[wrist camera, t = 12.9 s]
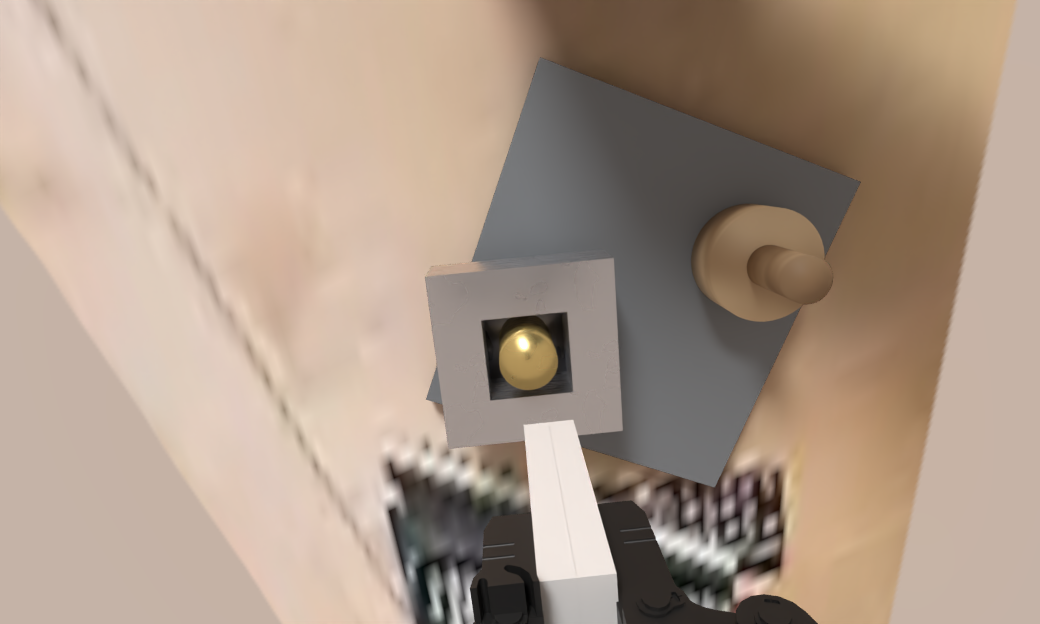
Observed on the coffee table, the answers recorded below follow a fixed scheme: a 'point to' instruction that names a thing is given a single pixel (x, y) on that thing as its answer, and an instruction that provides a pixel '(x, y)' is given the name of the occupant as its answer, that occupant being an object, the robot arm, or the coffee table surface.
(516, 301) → the square hole frame
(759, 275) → the stand
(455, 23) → the coffee table surface
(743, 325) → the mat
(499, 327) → the cylinder
